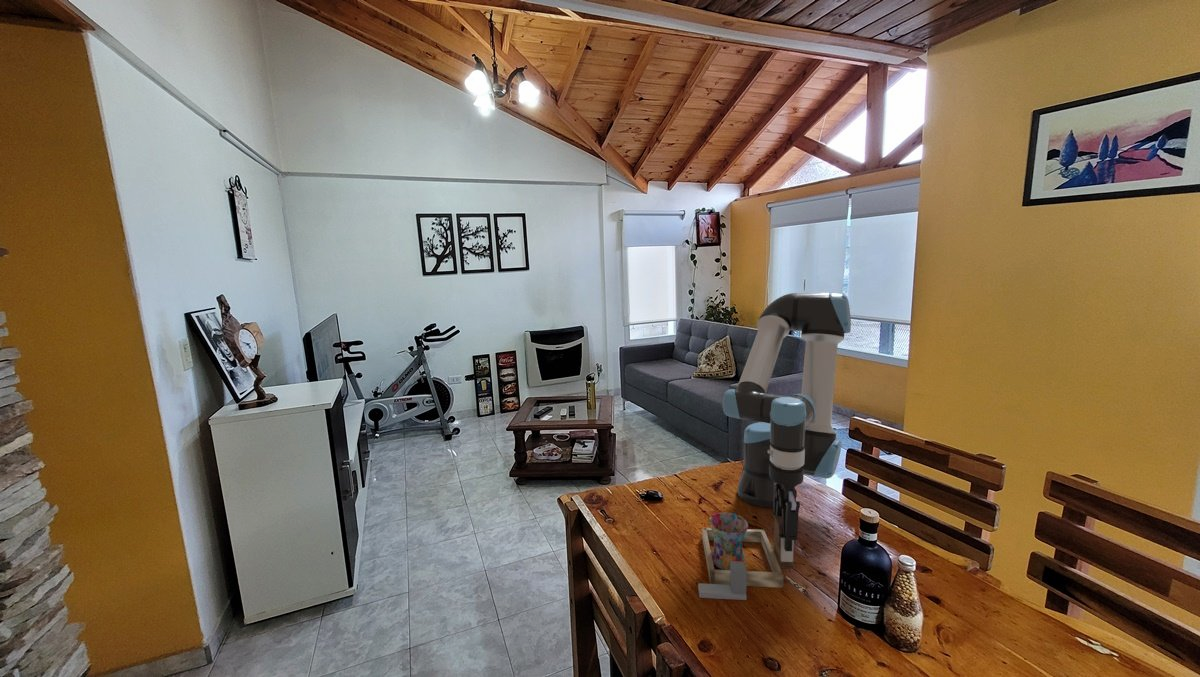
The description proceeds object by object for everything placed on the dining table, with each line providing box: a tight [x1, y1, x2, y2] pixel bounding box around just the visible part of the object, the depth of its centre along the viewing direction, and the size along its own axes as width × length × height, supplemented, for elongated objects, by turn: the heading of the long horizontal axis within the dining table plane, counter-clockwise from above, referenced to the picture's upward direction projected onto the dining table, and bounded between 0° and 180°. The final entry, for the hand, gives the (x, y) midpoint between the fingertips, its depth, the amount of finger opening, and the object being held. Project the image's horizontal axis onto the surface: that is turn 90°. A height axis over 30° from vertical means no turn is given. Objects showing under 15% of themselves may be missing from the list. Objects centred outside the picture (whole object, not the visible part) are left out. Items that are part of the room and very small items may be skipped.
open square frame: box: [701, 516, 795, 588], centre depth 110 cm, size 20×18×11 cm
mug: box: [708, 512, 749, 570], centre depth 111 cm, size 12×9×11 cm
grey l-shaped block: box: [697, 561, 748, 601], centre depth 99 cm, size 10×3×7 cm, turn 83°
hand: (783, 554), depth 109 cm, fingers closed on open square frame, 4 cm apart
